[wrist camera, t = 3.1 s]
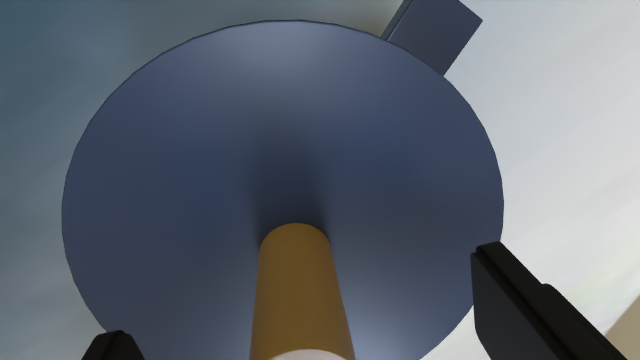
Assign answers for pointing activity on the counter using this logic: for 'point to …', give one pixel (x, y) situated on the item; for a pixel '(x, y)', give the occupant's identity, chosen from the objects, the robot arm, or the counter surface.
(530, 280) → the robot arm
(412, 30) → the pot
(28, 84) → the counter surface
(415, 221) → the lid
